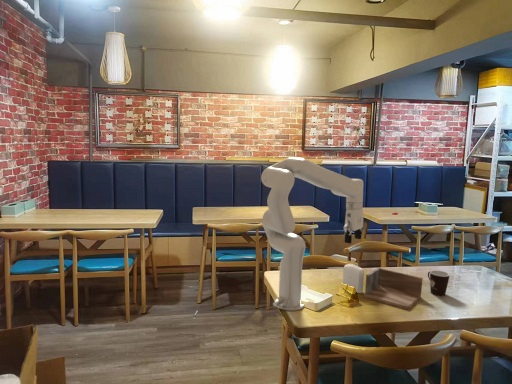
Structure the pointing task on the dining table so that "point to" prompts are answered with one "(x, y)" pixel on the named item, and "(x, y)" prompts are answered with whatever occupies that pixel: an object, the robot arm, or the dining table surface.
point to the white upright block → (353, 277)
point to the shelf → (393, 288)
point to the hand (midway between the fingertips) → (353, 240)
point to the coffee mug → (438, 282)
